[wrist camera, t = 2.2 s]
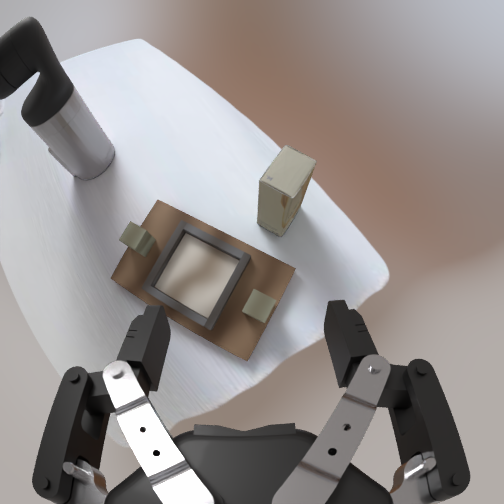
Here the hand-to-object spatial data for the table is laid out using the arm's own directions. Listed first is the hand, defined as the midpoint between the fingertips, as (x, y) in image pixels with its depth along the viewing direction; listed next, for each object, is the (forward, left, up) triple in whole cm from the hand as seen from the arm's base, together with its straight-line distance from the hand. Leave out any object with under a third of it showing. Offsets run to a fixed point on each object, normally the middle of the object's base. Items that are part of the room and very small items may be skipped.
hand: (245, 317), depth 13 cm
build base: (-7, +7, -24) cm, 26 cm away
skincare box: (+5, +16, -25) cm, 30 cm away
